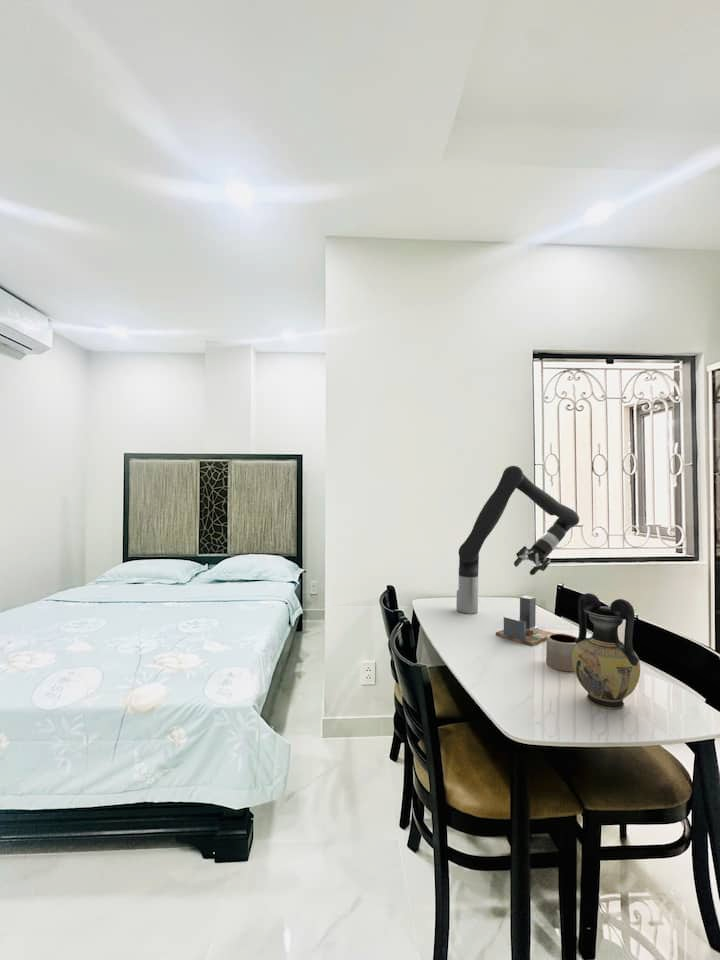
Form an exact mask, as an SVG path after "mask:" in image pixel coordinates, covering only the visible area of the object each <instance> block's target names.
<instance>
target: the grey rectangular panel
mask: <svg viewBox="0 0 720 960" xmlns="http://www.w3.org/2000/svg"><path fill="white" fill-rule="evenodd" d="M503 630H504V635H507V636H511V637H514V638H517V639H521V640H526V622H525V621H521V620H520V619H516V618H512V617H510V616H505V615H504V616H503Z"/></svg>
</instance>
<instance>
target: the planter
mask: <svg viewBox="0 0 720 960" xmlns="http://www.w3.org/2000/svg"><path fill="white" fill-rule="evenodd" d="M552 633H553V634H548V635H547V640H546V649H545V650H546V653H545V662H546V663H545V664H546V665H548V667H550V668H551V669H553V670H556V671H560V672H565V673H575V671H574V668H573V661H572V655H573V650H574V648H575V646H576V645H577V644H576V643H575V640H576V639H577V638H578V637H577V636H575V635H572V634H568V633H567V634H566V633H559V632H558V633H557V632H555V633H554V632H552Z"/></svg>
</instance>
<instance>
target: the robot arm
mask: <svg viewBox="0 0 720 960" xmlns="http://www.w3.org/2000/svg"><path fill="white" fill-rule="evenodd" d="M516 489H517V490H518V491H520V492H522V493H523V494H524V495H525V496H526V497H528V498H529V499H530V500H532V502H533V503H534V504H536V505H537V506H538V507H539V508H540V509H541V510H543V511H544V512H545V513H546V514H548V515H550V516H556V517H557V519H556V520H555V521H554V523H553V524H552V525H551V526H550V527H549V529H547V530H546V532H545V533H543V534H542V535H541V536H540V537H539V538H538V539H537V540H536V541H535V543H534V544H532V547H530V548H527V546H526V545H525V546H522V548H521V549H520V550H518V551H517V552H516V554H515V555H516V557H517V558H516V560H514V562H513V565H514V567H516V568H517V567H518V566H519V565H520V564H521V563H522V562H523V561H530V562H533V563H534V564H535V565H534V566H533V567H532V568H531V569H530V571H529V575H531V576H534V575H536V573H537V572H538V571H541V572H544V571H545V570H546V569H547V568H548V567H549V565H550V564H551V562H552V561H551V558H550V557H549V555H550V554H552V552H553V551H554V550H555V548H557V546H558V544H559V543H561V541H563V539H564V538H565V536H566V533H568V531H570V529H571V528H573V527H575V526H576V525H578V524H579V522H580V516H579V514H578V513H577V512H576V511H575V510H574V509H571V507H569V506H566V505H564V504H562V503H560V502H559V501H557V499H555V498H554V497H553V496H552V495H550V494H549V493H547V492H546V491H544V490H543V489H541V488H540V487H538V486H537V485H536V484H534V483H533V482H532V481H531V480H530V479H528V477H527V476H526V475H525V474H524V472H523V470H522V468H521V467H519V466H517V465H509V466H508V467H506V468H505V469H504V470H503V472H502V476H501V477H500V481H499V482H498V484H497V486H496V488H495V490H494V491H493V493H492V494H491V495H490V497H488V499H487V501H486V502H485V503H484V505H483V507H482V508H481V510H480V511H479V514H478V516H477V518H476V519H475V520H476V521H475V522H474V524H473V527H472V529H471V532H470V533H469V535H468V537H467V538H466V539H465V540H464V542H463V543H462V544H461V545H460V547H459V549H458V557H459V559H458V561H459V563H458V590H456V611H458V612H459V613H463V614H471V615H472V614H478V612H479V610H478V609H479V607H478V606H479V604H478V603H479V564H480V563H479V560H480V559H479V557H480V551H481V548H482V546H483V545H484V543H485V540H486V539H487V538H488V536H490V534H491V533H492V531H493V530H494V529H495V528H496V525H497V524H498V523H499V521H500V519H501V517H502V516H503V513H504V511H505V510H506V508H507V505H508V502H509V500H510V498H511V496H512V494H513V493H514V491H515V490H516ZM541 562H542V563H541Z"/></svg>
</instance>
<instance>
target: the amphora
mask: <svg viewBox="0 0 720 960" xmlns="http://www.w3.org/2000/svg"><path fill="white" fill-rule="evenodd" d="M577 602H578V605H577V609H578V637H577V639H576V640H575V643H576V644H577V645H576V646H575V648H574V650H573V655H572V661H573V668H574V671H575V672H574V673H575V676H576V678H577V681H578V682H579V684H580V685H581V686H582V688H583V689H584V690H585V691H586V692H587V696H586V699H587V700H588V701H589V702H590V703H591V704H593V705H595V706H597V707H600V708H603V709H608V710H609V709H610V710H619V709H618V708H620V709H622V708H623V707H624V706H625V702H624V699H626V698H627V697H629V696H630V695H631V694H632V693H634V692H633V691H634V690H635V689H636V687H637V685H638V683H639V679H640V677H641V662H640V658H639V656H638V655H637V653H636V652H635V650H634V647H633V635H634V623H635V610H634V606H633V605H632V604H631V602H629V601H628V600H625V599H622V598H618V599H615V600H613V601H612V602H611V604H610V606H603V605H602V606H601V601H600V599H599V597H598V596H597V595H595V594H593V593H588V592H587V593H584V594H581V596H580V597H579V599H578V601H577ZM587 614H588V619H589V621H590V622H591V623H592V625H593V631H592V635H591V636H590V637H587V631H588V625H587V622H588V621H587ZM624 620H625V625H624V637H623V641H621V640H620V637H619V633H618V629H619V627H620V626H621V625H622V624H623V622H624ZM621 707H622V708H621Z"/></svg>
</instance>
